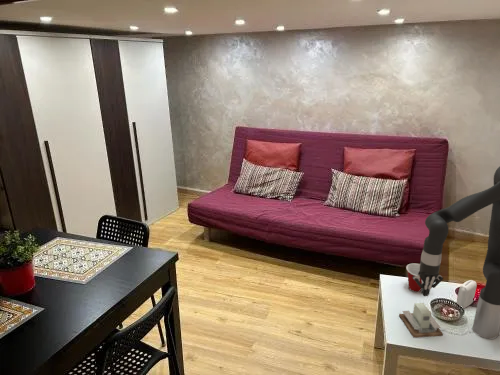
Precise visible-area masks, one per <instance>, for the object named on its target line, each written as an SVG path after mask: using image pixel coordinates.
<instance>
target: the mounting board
mask: <svg viewBox="0 0 500 375" xmlns="http://www.w3.org/2000/svg"><path fill="white" fill-rule="evenodd" d="M410 313H411V314H413V312H410ZM398 316H399V318H400V320H401V322H402V323H403V324H404V326H405V327H406V329H407V330H408V332H409V333H410V335H411V336H412V337H413V338H428V337H429V338H430V337H442V336H444V333H443V332H442V331H441V328H437V330H436V332H433V333H418V332H417V331H416V330H415V329H414V328H413V326H412V325H411V323H410V322H409V320H408V319H407V317H406V316H405V315H404V313H399V314H398Z"/></svg>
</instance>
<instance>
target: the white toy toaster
mask: <svg viewBox="0 0 500 375" xmlns="http://www.w3.org/2000/svg"><path fill="white" fill-rule="evenodd" d="M477 285H478V284H477V282H476V281H475V280H473V279H470V280H467V281H465V282H464V283H462V284H461V285H460V286H459V290H458V294H457V298H456V302H455V303H457V304H459V305H460V306H462V307H463V308H462V309H465V308H467V307H469V306H470V305H472V304H473V303H474V300H473V298H474V299H475V294H476V290H477Z"/></svg>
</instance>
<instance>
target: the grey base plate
mask: <svg viewBox="0 0 500 375" xmlns="http://www.w3.org/2000/svg"><path fill="white" fill-rule="evenodd" d="M411 313H412V312H410V310H402V314H404V315H405V316H406V317H407V319H408V320H409V322H410V323H411V325H412V326H413V328H414V329H415V330H416V331H417V332H418V333H433V332H436V330H437V328H439V329H441V328H442V327H441V326H440V325H439V323H438V322H437V320H436V319H435V317H433V316H432V315H431V318H430V324H429V328H421V327H420V326H419V324H418V323H417V321H416V320H415V319H414V317H413V314H411Z"/></svg>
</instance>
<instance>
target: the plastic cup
mask: <svg viewBox="0 0 500 375" xmlns="http://www.w3.org/2000/svg"><path fill="white" fill-rule="evenodd" d="M405 267H406V271H407V282H408V289H409V290H410V291H412V292H421V291H422V288H420V286H419V285H418V284H417V283H416V281H415V280H414V279H413V278H412V277H413V276H417V275H418V272H419V271H420V263H413V262H412V263H409V264H407V265H406V266H405ZM419 282H420V283H421V284H422V281H421V278H420V281H419Z"/></svg>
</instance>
